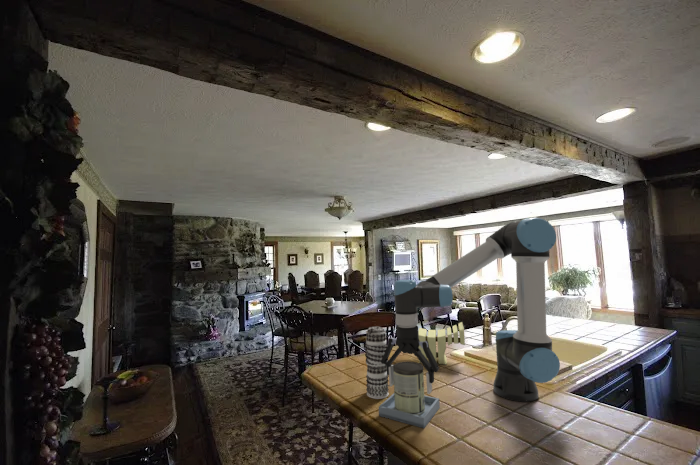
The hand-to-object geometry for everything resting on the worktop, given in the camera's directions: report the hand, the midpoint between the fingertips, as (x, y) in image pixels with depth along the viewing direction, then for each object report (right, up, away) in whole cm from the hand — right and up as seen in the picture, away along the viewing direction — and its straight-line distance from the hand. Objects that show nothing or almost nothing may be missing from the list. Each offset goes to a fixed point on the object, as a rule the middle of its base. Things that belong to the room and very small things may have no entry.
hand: (410, 388), depth 111 cm
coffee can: (0, -7, -1) cm, 7 cm away
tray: (0, -8, 0) cm, 8 cm away
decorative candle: (-10, -9, +14) cm, 19 cm away
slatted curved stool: (+21, -11, +51) cm, 56 cm away
